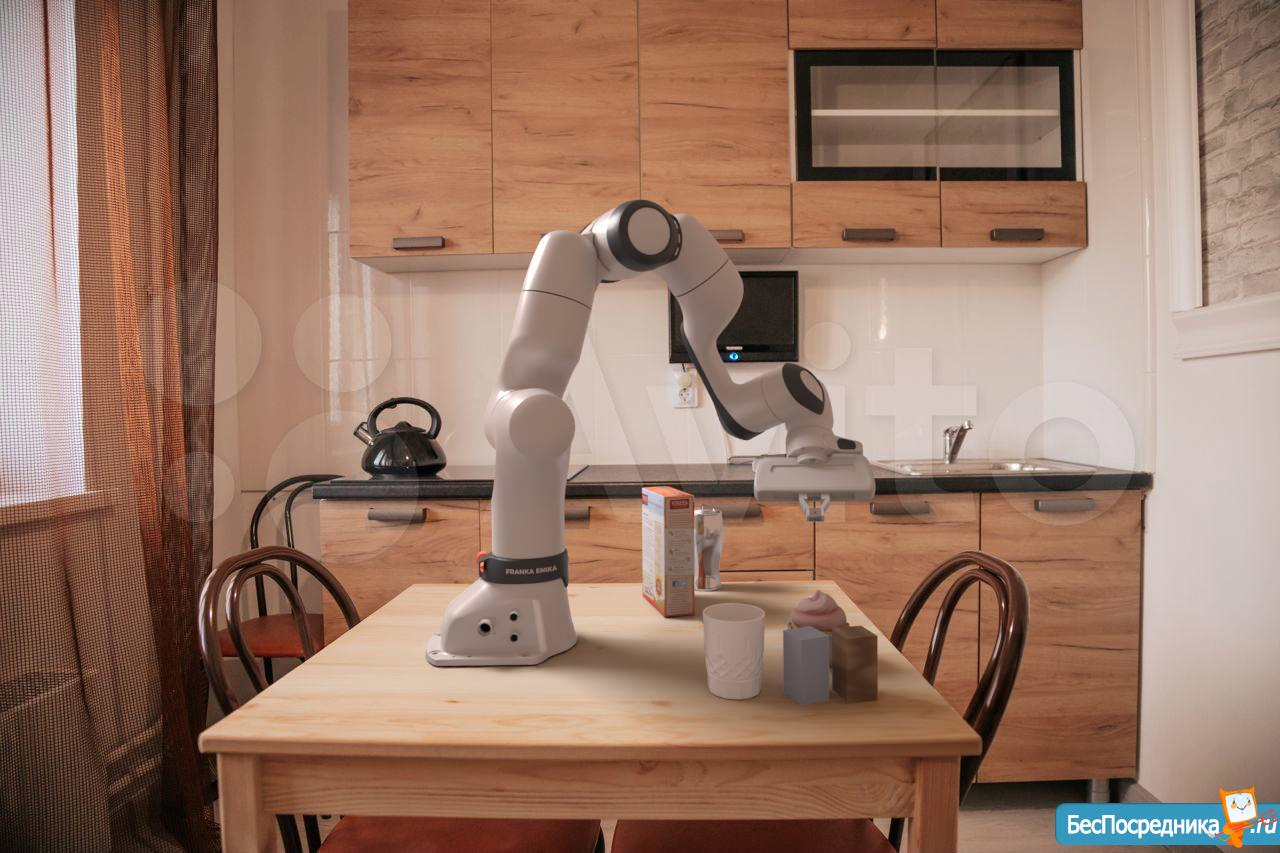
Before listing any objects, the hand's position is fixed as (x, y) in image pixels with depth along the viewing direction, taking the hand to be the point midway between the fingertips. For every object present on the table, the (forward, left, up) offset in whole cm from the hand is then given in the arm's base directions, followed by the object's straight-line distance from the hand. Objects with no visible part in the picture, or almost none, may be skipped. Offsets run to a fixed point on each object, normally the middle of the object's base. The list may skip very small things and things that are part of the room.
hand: (815, 519), depth 115 cm
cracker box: (-22, +14, -17) cm, 31 cm away
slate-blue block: (-14, -27, -17) cm, 35 cm away
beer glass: (-12, +24, -17) cm, 32 cm away
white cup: (-22, -23, -17) cm, 36 cm away
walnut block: (-8, -28, -17) cm, 34 cm away
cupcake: (-7, -16, -17) cm, 25 cm away
